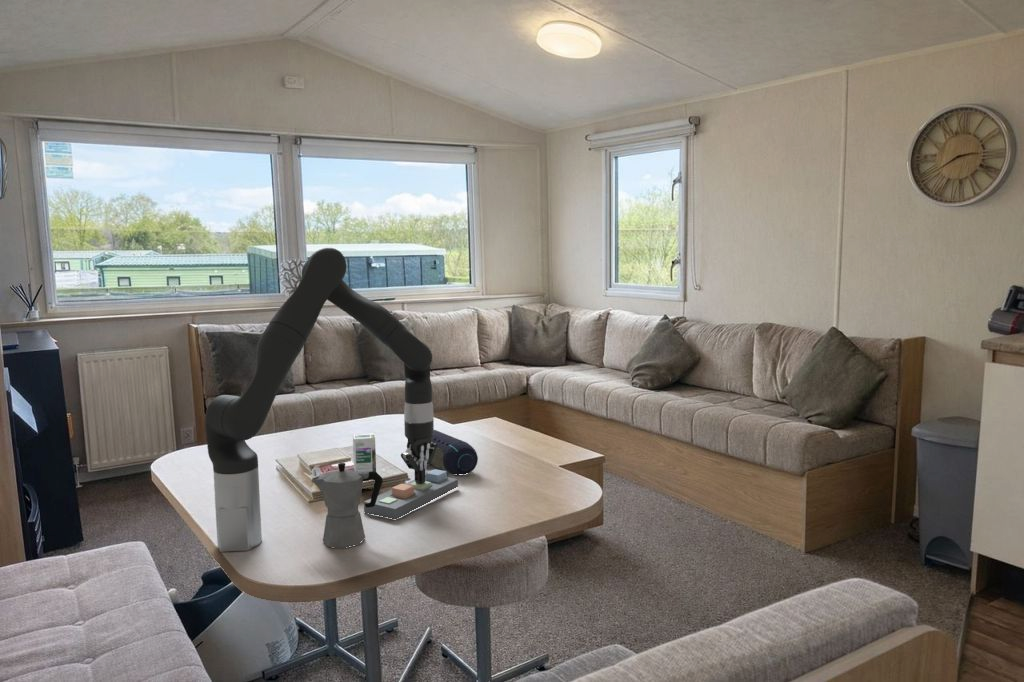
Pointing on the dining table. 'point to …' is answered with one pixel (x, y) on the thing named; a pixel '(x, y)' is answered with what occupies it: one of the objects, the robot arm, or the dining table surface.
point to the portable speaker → (453, 454)
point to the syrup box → (364, 452)
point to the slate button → (436, 476)
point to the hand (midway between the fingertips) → (420, 482)
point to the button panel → (408, 499)
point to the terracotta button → (403, 491)
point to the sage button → (421, 485)
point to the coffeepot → (345, 504)
